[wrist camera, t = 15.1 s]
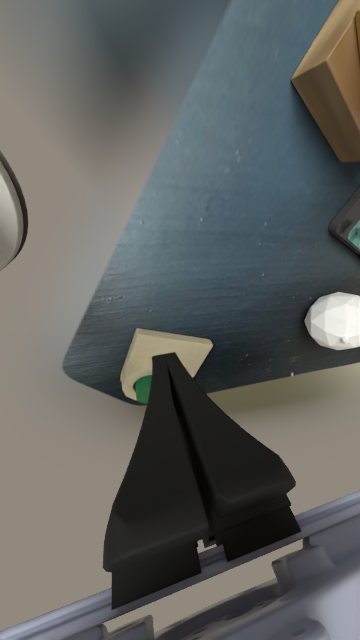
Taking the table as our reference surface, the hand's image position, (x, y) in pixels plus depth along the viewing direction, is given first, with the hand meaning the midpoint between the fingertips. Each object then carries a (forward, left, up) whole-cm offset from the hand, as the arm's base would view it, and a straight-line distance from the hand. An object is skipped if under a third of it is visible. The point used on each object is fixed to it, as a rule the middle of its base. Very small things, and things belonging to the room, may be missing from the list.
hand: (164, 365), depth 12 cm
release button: (+3, -11, -8) cm, 14 cm away
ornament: (+24, +3, -11) cm, 26 cm away
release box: (+5, -9, -10) cm, 15 cm away
